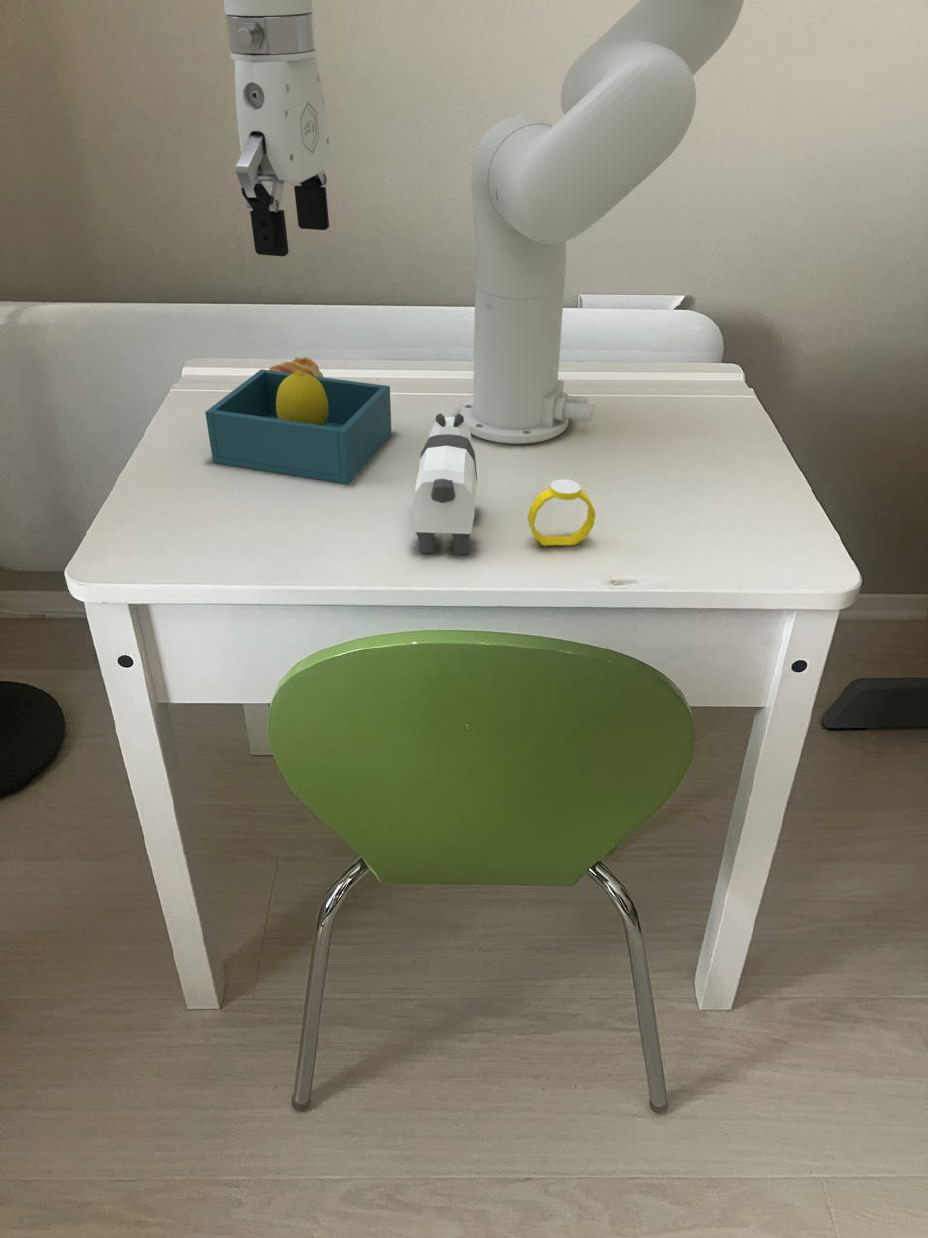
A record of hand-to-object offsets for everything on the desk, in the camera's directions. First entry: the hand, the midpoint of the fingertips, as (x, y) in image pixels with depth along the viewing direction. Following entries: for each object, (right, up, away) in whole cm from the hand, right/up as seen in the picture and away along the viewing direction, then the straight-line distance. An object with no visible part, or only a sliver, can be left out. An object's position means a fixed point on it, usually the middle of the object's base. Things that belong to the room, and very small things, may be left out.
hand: (294, 240), depth 95 cm
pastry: (-5, -10, +23) cm, 26 cm away
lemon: (-1, -18, +11) cm, 21 cm away
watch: (+26, -30, -4) cm, 40 cm away
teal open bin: (-1, -18, +11) cm, 22 cm away
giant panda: (+15, -28, -2) cm, 32 cm away
